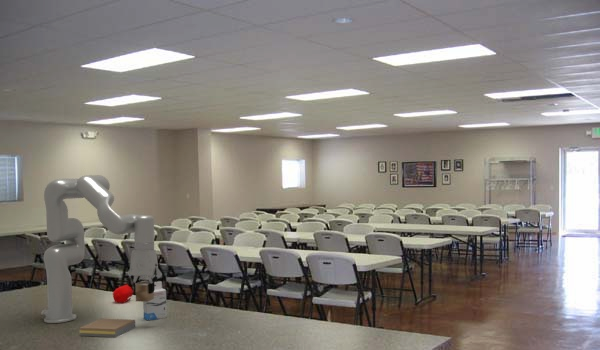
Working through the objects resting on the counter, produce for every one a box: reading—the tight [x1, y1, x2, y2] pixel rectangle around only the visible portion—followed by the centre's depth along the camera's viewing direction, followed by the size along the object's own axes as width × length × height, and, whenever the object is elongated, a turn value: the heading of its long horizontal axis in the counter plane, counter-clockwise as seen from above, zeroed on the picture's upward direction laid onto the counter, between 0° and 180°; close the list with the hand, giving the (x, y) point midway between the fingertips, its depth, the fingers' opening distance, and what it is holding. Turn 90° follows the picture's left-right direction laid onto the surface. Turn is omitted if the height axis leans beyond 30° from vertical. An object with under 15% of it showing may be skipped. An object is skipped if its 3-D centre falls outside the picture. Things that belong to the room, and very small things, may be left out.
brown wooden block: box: [134, 280, 154, 302], centre depth 222 cm, size 5×5×7 cm
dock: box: [78, 318, 136, 338], centre depth 216 cm, size 15×14×3 cm
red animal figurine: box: [112, 284, 134, 304], centre depth 270 cm, size 8×8×8 cm
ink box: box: [142, 281, 167, 321], centre depth 236 cm, size 8×5×15 cm, turn 123°
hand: (144, 292), depth 222 cm, fingers closed on brown wooden block, 5 cm apart
